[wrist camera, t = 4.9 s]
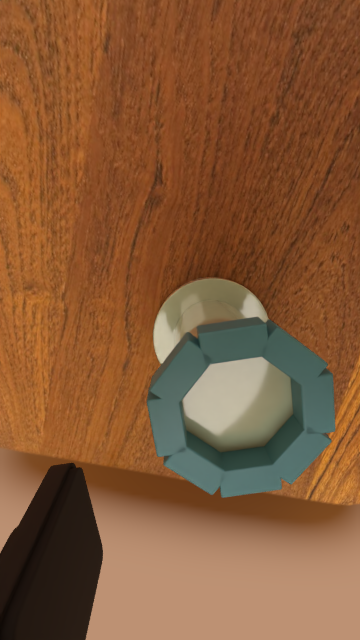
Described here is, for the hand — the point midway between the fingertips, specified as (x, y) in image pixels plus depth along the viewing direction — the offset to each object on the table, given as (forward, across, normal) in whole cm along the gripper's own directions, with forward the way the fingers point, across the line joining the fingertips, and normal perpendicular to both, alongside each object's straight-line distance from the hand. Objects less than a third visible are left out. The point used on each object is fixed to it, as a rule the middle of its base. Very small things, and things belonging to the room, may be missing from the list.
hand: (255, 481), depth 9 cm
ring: (+4, 0, 0) cm, 4 cm away
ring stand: (+14, 0, 0) cm, 14 cm away
